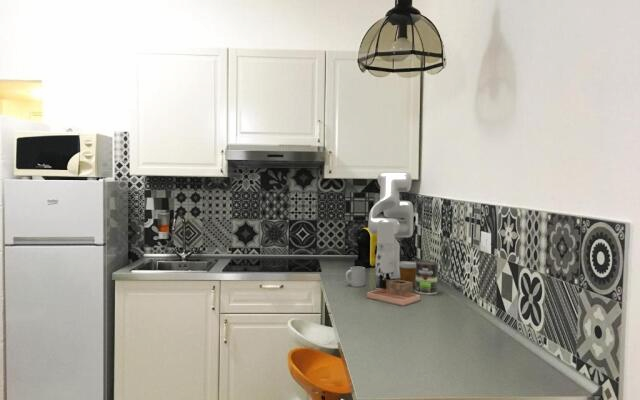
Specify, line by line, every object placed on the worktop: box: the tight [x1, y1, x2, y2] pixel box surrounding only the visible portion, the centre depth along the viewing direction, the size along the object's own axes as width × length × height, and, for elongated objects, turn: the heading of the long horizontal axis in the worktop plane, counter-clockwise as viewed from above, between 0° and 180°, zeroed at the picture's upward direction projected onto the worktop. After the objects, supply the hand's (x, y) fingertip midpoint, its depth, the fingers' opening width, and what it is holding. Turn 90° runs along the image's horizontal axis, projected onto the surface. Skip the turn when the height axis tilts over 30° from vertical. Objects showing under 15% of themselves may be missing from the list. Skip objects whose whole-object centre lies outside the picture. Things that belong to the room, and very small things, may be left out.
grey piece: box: [373, 272, 382, 290], centre depth 227 cm, size 4×4×8 cm
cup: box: [345, 265, 366, 288], centre depth 234 cm, size 7×10×9 cm
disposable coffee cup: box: [398, 260, 417, 288], centre depth 233 cm, size 10×10×12 cm
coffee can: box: [414, 260, 439, 296], centre depth 221 cm, size 10×10×14 cm
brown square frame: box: [380, 279, 414, 294], centre depth 206 cm, size 14×8×4 cm, turn 47°
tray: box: [366, 289, 421, 307], centre depth 207 cm, size 13×19×2 cm
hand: (384, 287), depth 209 cm, fingers closed on brown square frame, 3 cm apart
